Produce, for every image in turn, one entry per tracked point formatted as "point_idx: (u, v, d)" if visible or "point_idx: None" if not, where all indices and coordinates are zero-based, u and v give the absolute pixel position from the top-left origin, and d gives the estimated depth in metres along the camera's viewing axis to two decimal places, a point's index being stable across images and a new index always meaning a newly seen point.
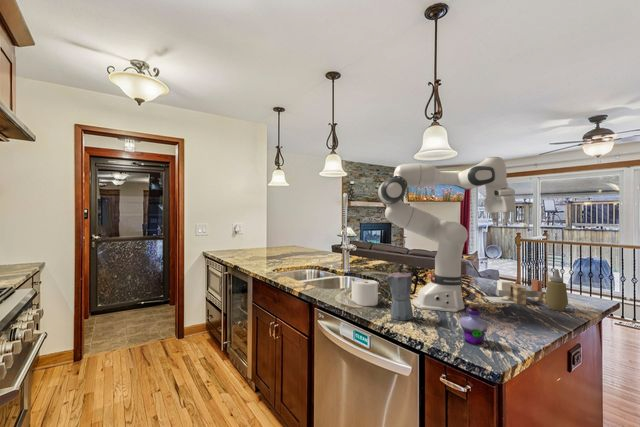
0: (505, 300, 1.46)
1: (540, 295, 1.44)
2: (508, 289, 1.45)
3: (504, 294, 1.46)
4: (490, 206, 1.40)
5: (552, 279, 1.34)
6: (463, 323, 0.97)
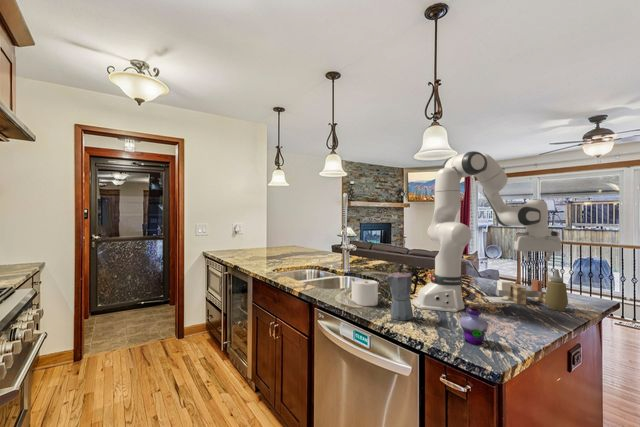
0: (505, 300, 1.46)
1: (540, 295, 1.44)
2: (508, 289, 1.45)
3: (504, 294, 1.46)
4: (531, 245, 1.45)
5: (552, 279, 1.34)
6: (463, 323, 0.97)
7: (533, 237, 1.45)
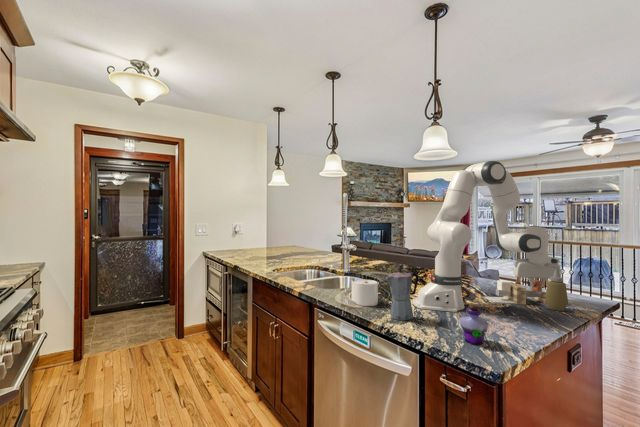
0: (505, 300, 1.46)
1: (540, 295, 1.44)
2: (508, 289, 1.45)
3: (504, 294, 1.46)
4: (531, 272, 1.45)
5: (552, 279, 1.34)
6: (463, 323, 0.97)
7: (533, 264, 1.45)
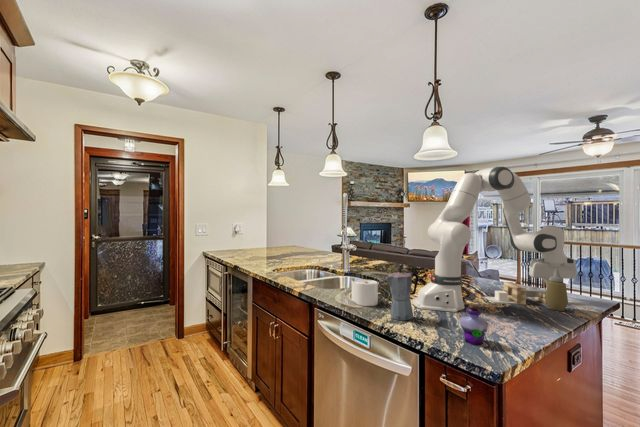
0: None
1: None
2: (506, 295, 1.44)
3: None
4: (546, 272, 1.44)
5: (552, 279, 1.34)
6: (463, 323, 0.97)
7: (549, 264, 1.44)
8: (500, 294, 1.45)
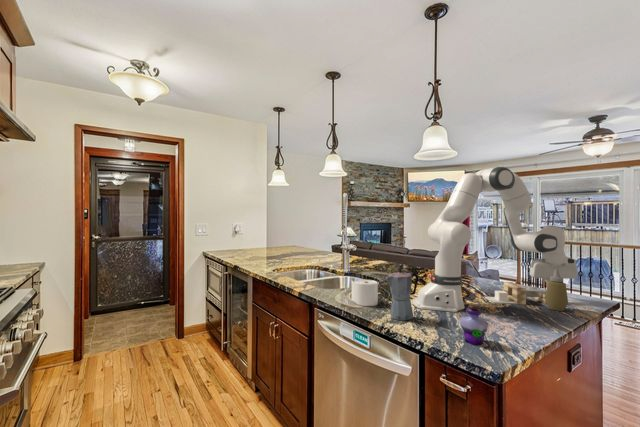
0: None
1: None
2: (506, 295, 1.44)
3: None
4: (547, 272, 1.44)
5: (552, 279, 1.34)
6: (463, 323, 0.97)
7: (549, 264, 1.44)
8: (500, 294, 1.45)
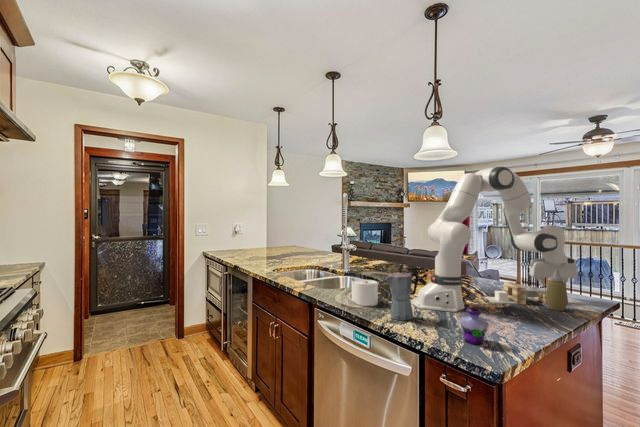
0: None
1: None
2: (506, 295, 1.44)
3: None
4: (547, 271, 1.44)
5: (552, 279, 1.34)
6: (463, 323, 0.97)
7: (549, 264, 1.44)
8: (500, 294, 1.45)
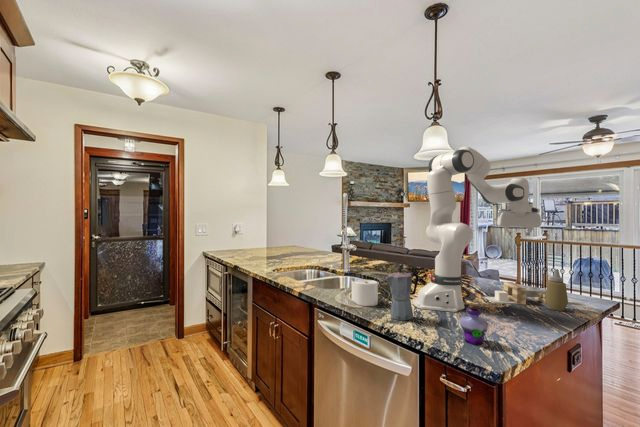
0: None
1: None
2: (506, 295, 1.44)
3: None
4: (513, 221, 1.54)
5: (552, 279, 1.34)
6: (463, 323, 0.97)
7: (515, 213, 1.54)
8: (500, 294, 1.45)
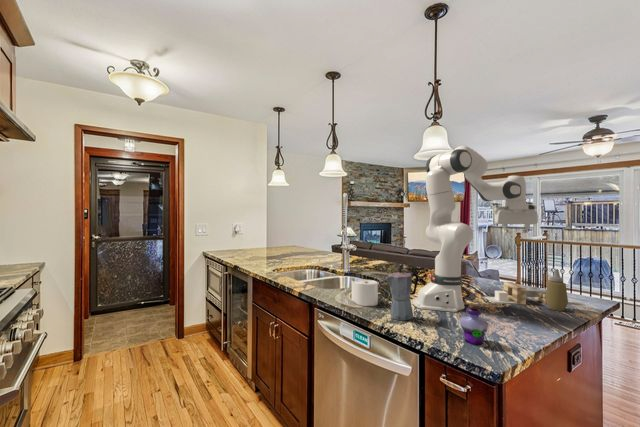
0: None
1: None
2: (506, 295, 1.44)
3: None
4: (510, 218, 1.55)
5: (552, 279, 1.34)
6: (463, 323, 0.97)
7: (512, 210, 1.55)
8: (500, 294, 1.45)
